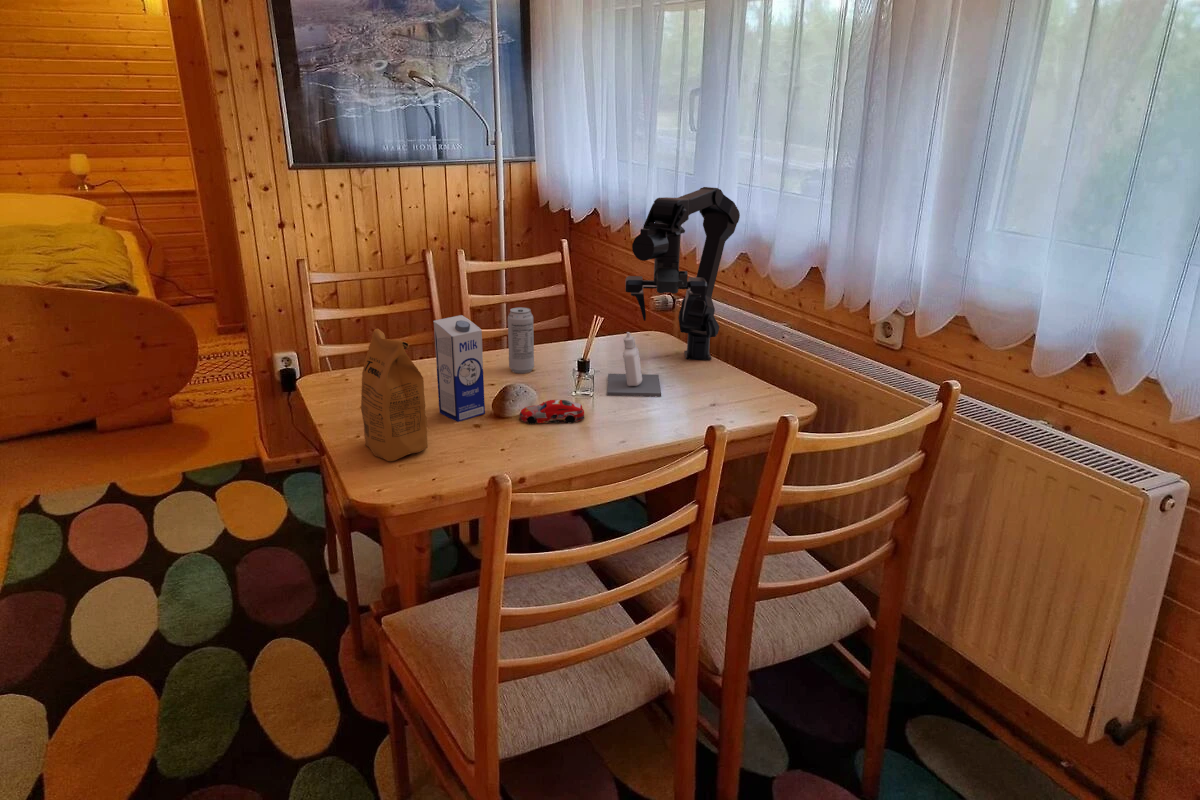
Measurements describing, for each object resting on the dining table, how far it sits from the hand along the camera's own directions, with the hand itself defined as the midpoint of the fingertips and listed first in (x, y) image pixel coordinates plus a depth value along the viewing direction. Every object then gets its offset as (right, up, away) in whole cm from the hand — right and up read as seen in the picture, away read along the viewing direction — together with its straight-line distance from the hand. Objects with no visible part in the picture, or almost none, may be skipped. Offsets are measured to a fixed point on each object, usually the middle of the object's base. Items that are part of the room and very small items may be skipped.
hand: (664, 320), depth 183 cm
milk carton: (-44, -22, -22) cm, 54 cm away
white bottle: (-7, -15, -5) cm, 17 cm away
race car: (-25, -23, -24) cm, 41 cm away
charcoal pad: (-7, -16, -5) cm, 18 cm away
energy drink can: (-34, -12, +5) cm, 36 cm away
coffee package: (-53, -28, -39) cm, 71 cm away
